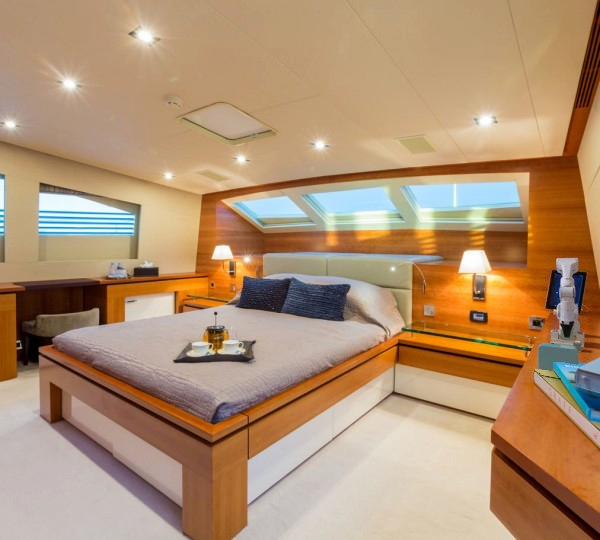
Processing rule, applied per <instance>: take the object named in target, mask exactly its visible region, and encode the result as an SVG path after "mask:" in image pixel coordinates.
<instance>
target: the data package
mask: <svg viewBox="0 0 600 540" xmlns="http://www.w3.org/2000/svg"><path fill="white" fill-rule="evenodd" d="M579 353H580V352H579V351H578V349H577V348H576V347H574V346H570V345H561V344H551V343H549V342H548V343H547V342H543V343H540V344H539V346H538V347H537V370H538V369H542V370H549V371H552V370H553V362H565V363H570V364H576V365H577V364H580V363H579V362H580V361H579V359H580V358H579Z"/></svg>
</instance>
